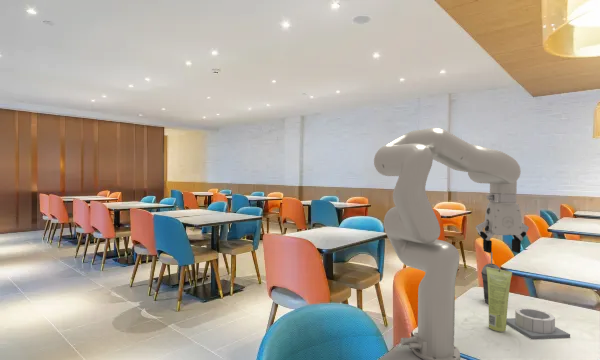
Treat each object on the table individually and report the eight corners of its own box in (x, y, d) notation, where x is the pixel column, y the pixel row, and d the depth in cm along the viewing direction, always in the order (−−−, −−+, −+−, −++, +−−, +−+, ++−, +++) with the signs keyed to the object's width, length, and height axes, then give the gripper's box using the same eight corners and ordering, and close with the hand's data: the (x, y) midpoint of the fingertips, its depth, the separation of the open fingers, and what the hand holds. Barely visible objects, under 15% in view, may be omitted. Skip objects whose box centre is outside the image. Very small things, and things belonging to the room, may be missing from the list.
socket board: (531, 339, 106) (531, 322, 106) (502, 321, 119) (502, 306, 119) (570, 337, 107) (570, 321, 107) (537, 320, 120) (537, 305, 120)
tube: (502, 325, 115) (503, 267, 115) (511, 332, 110) (512, 271, 110) (485, 325, 115) (486, 267, 115) (493, 332, 110) (494, 271, 110)
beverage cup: (481, 305, 134) (482, 253, 134) (480, 299, 141) (480, 250, 140) (503, 308, 131) (504, 255, 131) (500, 301, 138) (501, 251, 137)
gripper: (484, 199, 107) (483, 254, 107) (536, 200, 109) (535, 254, 109) (470, 198, 115) (469, 249, 115) (519, 198, 116) (518, 249, 116)
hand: (501, 252), depth 112 cm, fingers open, 9 cm apart
